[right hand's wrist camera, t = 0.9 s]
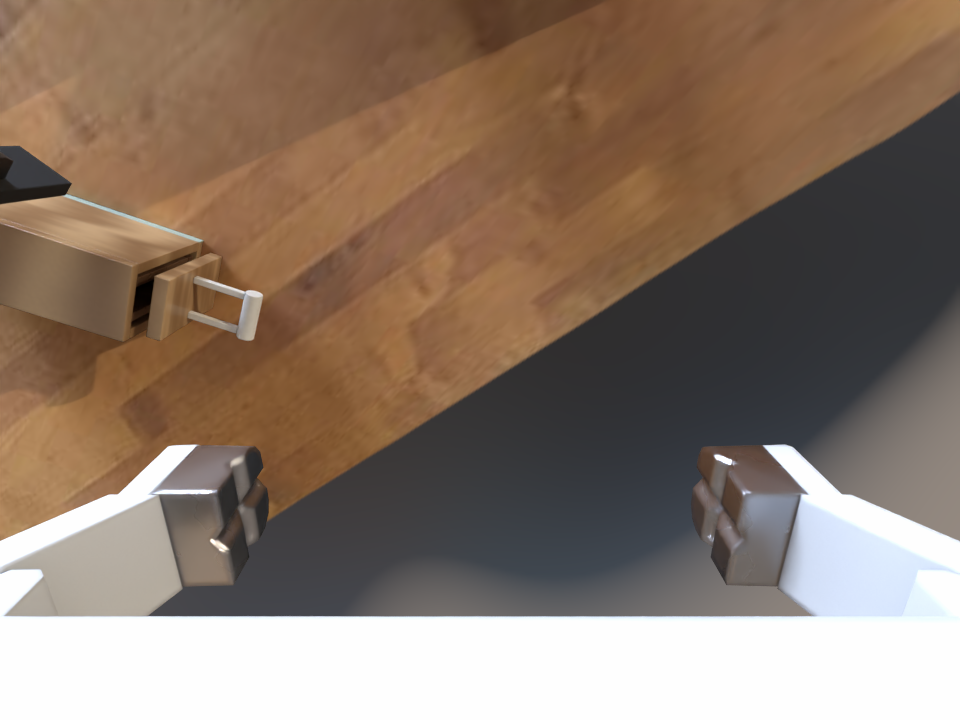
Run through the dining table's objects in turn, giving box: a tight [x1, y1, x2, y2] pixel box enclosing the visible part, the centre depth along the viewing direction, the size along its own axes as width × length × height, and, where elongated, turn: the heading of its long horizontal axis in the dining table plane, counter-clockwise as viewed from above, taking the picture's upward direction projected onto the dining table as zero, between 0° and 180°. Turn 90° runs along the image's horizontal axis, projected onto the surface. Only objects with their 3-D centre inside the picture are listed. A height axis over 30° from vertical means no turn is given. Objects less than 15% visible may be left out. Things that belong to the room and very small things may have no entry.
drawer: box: [131, 253, 263, 341], centre depth 49 cm, size 24×6×10 cm, turn 70°
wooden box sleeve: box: [0, 194, 203, 342], centre depth 48 cm, size 20×7×12 cm, turn 70°
